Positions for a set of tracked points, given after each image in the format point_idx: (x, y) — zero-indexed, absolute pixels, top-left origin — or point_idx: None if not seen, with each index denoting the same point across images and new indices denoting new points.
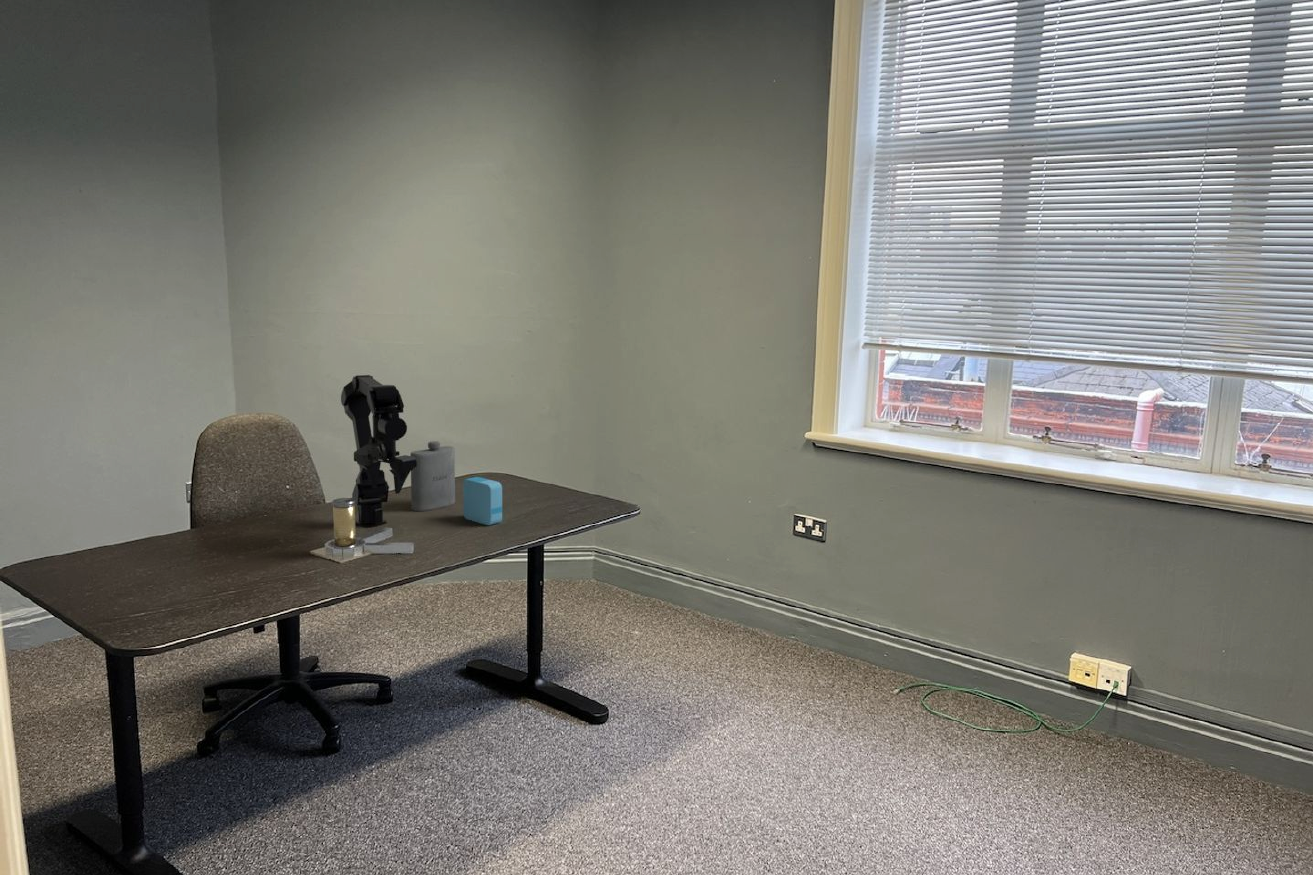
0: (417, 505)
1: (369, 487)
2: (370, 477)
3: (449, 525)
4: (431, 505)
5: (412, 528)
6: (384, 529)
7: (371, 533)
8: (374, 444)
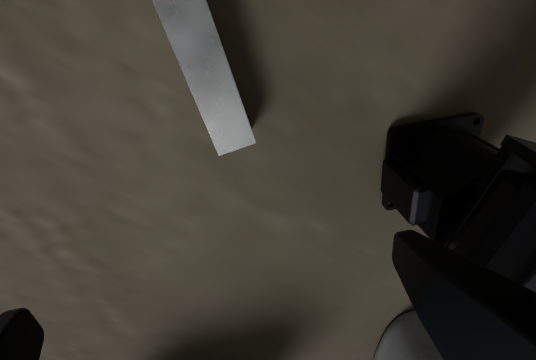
0: (409, 331)
1: (526, 250)
2: (508, 318)
3: (209, 325)
4: (384, 354)
5: (260, 238)
6: (225, 119)
7: (200, 25)
8: None
